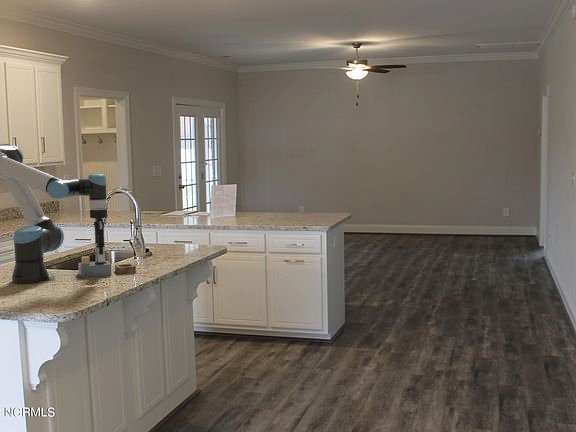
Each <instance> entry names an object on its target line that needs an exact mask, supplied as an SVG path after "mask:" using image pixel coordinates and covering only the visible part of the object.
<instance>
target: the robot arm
mask: <svg viewBox="0 0 576 432" xmlns="http://www.w3.org/2000/svg"><path fill="white" fill-rule="evenodd" d="M0 179H3V180H4V181H5V184H6V185H7V187H8V189H9V191H10V193H11V195H12V198H13V199H14V201H15V203H16V205H17V207H18V209H19V211H20V212H21V214H22V216H23V218H24V220H25V222H26V224H27V226H21V227H19V228H17V229H16V230H14V233H13V243H14V248H13V249H14V261H15V262H14V263H15V265H14V268H13V272H12V274H11V282H12V283H13V284H20V283H26V284H36V283H35V282H37V283H42V282H41V281H43V282H46V281H48V280H49V278H50V277H49V276H50V275H49V272H48V269H47V267H46V264H45V261H44V260H45V259H44V254H46V253H51V252H53V251H55V250H58V249H59V248H60V247H61V246H62V245H63V244H64V240H65V235H64V231H63V230H62V228H61V227H60V226H58V225H57V224H55V223H54V222H53V220H52V219H51V218H50V217H47V216H46V215H45V214H46V213H45V212H44V210H43V208H42V206H41V205H40V202H39V201H38V199H37V197H36V195H35V192H34V191H33V189H32V187H33V188H35V189H37V190H40V191H43V192H45V193H47V194H48V195H49V196H50V197H51V198H52V199H65V198H71V197H76V196H77V197H78V196H79V197H81V196H86V197H88V203H89V204H88V206H89V209H90V210H89V218H91V219H95V221H94V222H93V226H94V239H95V241H94V244H95V243H98V246H96V248H97V250H98V262H103V261H104V246H105V245H106V244H105V222H104V221H103V219H106V218H107V217H108V210H107V208H108V203H109V201H108V199H107V179H106V175H104V174H96V173H95V174H89V175H88V176H87V178H65V179H61V178H58V177H55V176H54V175H51V174H50V173H47V172H44V171H43V170H42V171H41V170H39V169H37V168H34V167H32V166H29V165H27V164H24V154H23V153H22V151H21V149H20V147H17V146H16V145H13V144H9V143H2V144H0ZM45 280H46V281H45Z"/></svg>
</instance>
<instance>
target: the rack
mask: <svg viewBox="0 0 576 432" xmlns="http://www.w3.org/2000/svg"><path fill="white" fill-rule="evenodd" d="M113 272H114V273H115V274H116V276H117V275H127V274H128V275H129V274H138V272H137V267H136V265H135V264H134V263H122V264H121V263H120V264H115V265H114V271H113Z"/></svg>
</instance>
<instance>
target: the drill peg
mask: <svg viewBox="0 0 576 432" xmlns="http://www.w3.org/2000/svg"><path fill="white" fill-rule="evenodd" d="M96 246H98V243H95V242H94V247H95V249H94V250H95V262H96V264H105V261H106V254H105V253H106V250H105V245H104V261H103V262H98V250H97V248H96Z"/></svg>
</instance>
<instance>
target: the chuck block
mask: <svg viewBox="0 0 576 432" xmlns="http://www.w3.org/2000/svg"><path fill="white" fill-rule="evenodd" d="M77 265H78V275H79V276H80V278H81V279H84V278H97V277H108V276H109V277H110V276H112V274H113V273H112V263H110V262H109V260H105V264H96V261H90V265H82V262H78V264H77Z"/></svg>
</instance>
